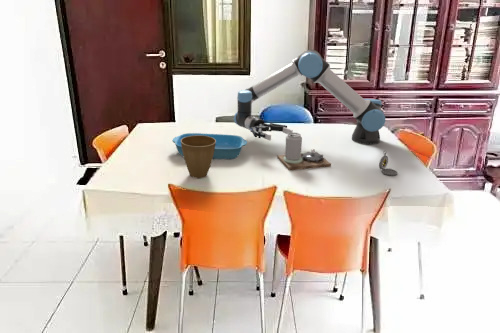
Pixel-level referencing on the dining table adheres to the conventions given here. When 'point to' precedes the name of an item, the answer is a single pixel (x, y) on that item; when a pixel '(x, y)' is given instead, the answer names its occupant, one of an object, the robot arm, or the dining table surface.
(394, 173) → the pocket watch
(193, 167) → the plant pot
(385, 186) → the dining table surface
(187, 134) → the casserole dish
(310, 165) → the gear board
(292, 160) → the output pad
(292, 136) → the can
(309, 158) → the gear
